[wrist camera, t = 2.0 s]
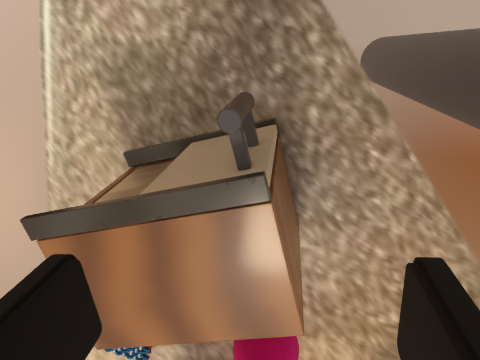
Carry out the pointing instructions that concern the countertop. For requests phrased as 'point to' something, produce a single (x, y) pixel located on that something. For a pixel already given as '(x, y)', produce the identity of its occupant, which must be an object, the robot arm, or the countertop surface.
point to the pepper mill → (267, 349)
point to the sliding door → (224, 150)
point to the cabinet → (185, 253)
